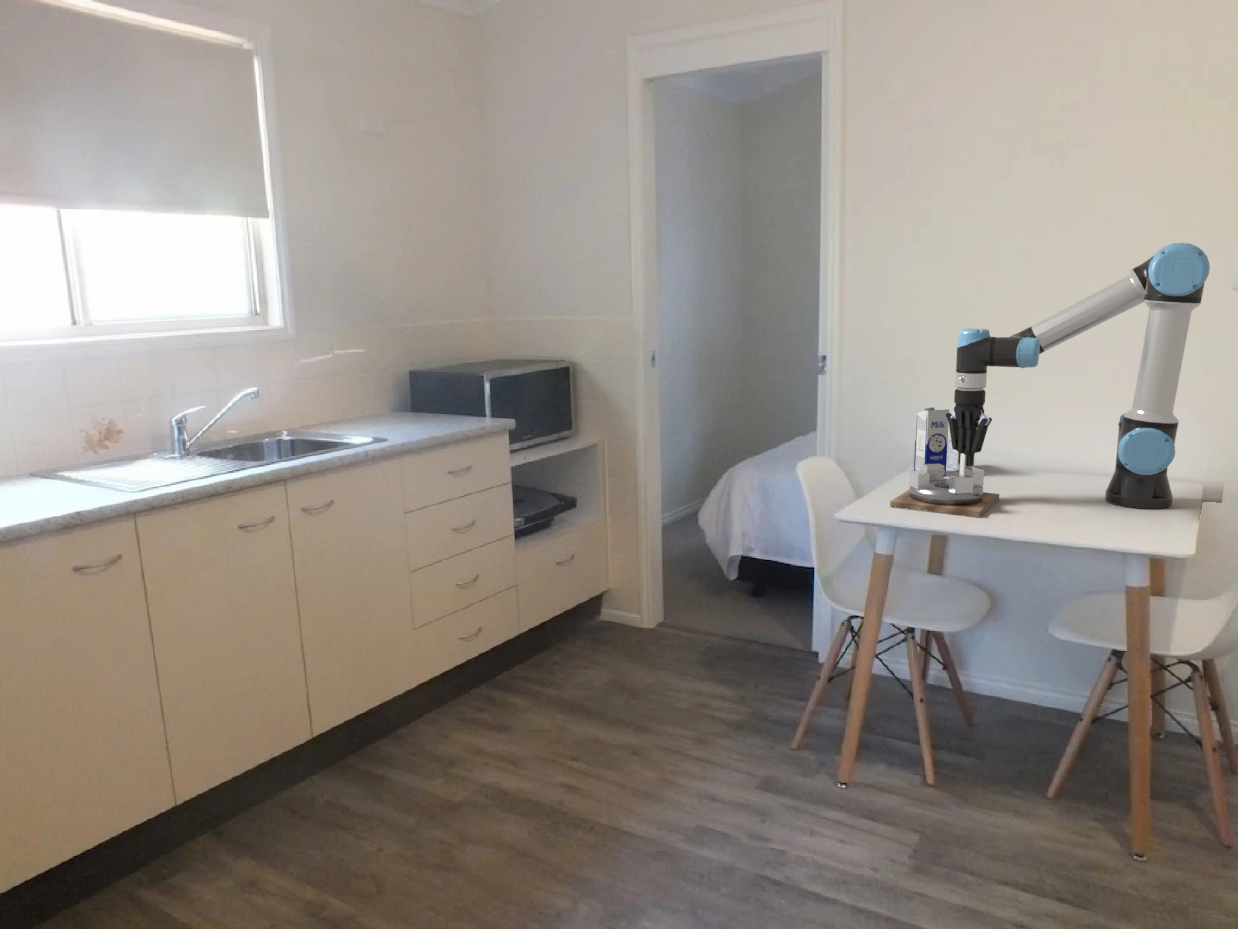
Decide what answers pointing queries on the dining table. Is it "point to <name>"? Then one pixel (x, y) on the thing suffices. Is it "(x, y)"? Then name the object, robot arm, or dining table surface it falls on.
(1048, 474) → the dining table surface
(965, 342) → the robot arm
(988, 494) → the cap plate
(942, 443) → the milk carton
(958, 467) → the medicine box
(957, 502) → the notched metal disc
